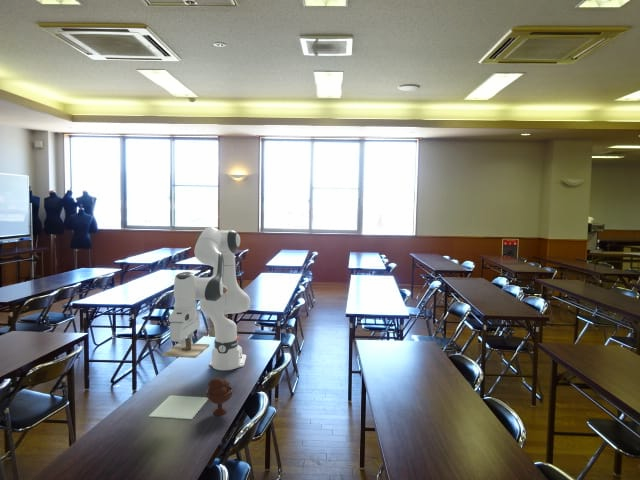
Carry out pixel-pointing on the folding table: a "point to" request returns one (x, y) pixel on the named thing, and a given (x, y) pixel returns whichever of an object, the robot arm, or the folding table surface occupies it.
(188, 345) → the lid
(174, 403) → the lid mat
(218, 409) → the ice cream bowl
